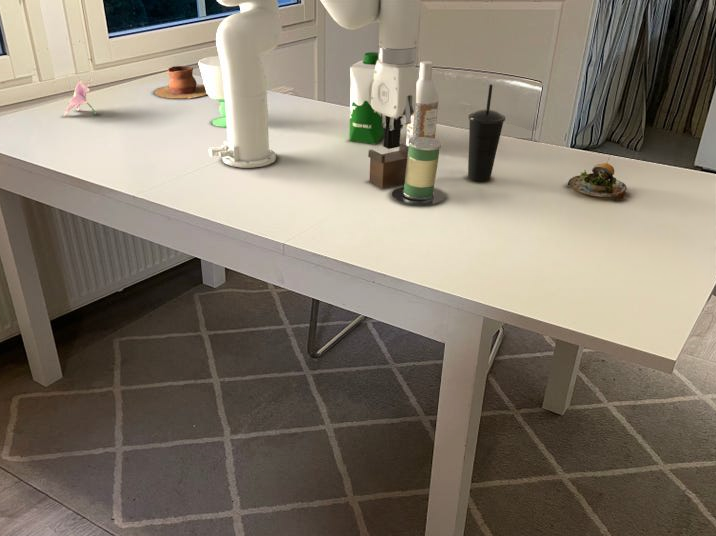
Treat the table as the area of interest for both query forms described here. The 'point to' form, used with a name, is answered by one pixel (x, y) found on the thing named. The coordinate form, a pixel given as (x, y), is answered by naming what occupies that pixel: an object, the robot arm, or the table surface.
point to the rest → (388, 167)
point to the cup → (214, 84)
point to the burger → (599, 182)
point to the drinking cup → (483, 141)
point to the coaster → (400, 198)
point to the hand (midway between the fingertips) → (391, 146)
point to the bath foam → (424, 105)
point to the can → (421, 168)
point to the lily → (79, 97)
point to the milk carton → (364, 103)
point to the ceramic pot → (181, 84)
